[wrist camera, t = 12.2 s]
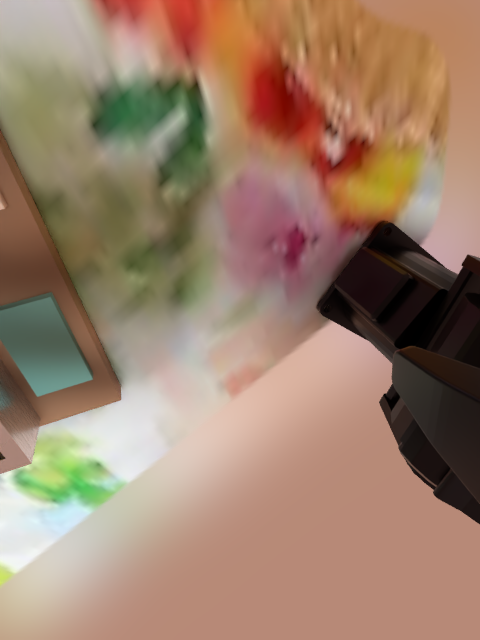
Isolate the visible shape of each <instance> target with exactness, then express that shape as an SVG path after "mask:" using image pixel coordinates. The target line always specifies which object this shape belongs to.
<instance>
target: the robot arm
mask: <svg viewBox="0 0 480 640" xmlns="http://www.w3.org/2000/svg"><path fill="white" fill-rule="evenodd" d="M386 228H387V231H386V232H385V233H384V230H385V229H386ZM462 266H463V268H462V269H461V271H460V273H459V274H456V273H454V272H452V271H450V270H449V269H447V268H445V267H444V266H443V265H442V264H441V263H440V262H438V261H437V260H436V259H435V258H434V257H432V256H431V255H430V254H429V253H428V252H426V251H425V250H424V249H423V248H422V247H420V246H419V245H418V244H417V243H416V242H414V241H413V240H412V239H411V238H410V237H408V236H407V235H406V234H405V233H404V232H402V231H401V230H400V229H399V228H398V227H396V226H395V225H394V224H392V223H390V222H388V221H383V222H381V223H380V224H379V225H378V226H377V227H376V229H375V230H374V231H373V233H372V234H371V235H370V237H369V238H368V239H367V241H366V242H365V243H364V244H363V246H362V247H361V248H360V250H359V251H358V252H357V254H356V255H355V256H354V258H353V259H352V260H351V261H350V263H349V264H348V265H347V267H346V268H345V269H344V271H343V272H342V273H341V275H340V276H339V277H338V279H337V280H336V281H335V282H334V284H333V285H332V286H331V288H330V289H329V290H328V292H327V293H326V294H325V296H324V297H323V298H322V299H321V301H320V302H319V304H318V306H317V309H318V311H319V312H320V313H321V314H322V315H323V316H325V317H326V318H328V319H330V320H332V321H334V322H335V323H337V324H339V325H341V326H343V327H345V328H346V329H348V330H350V331H352V332H353V333H355V334H357V335H359V336H361V337H363V338H364V339H366V340H368V341H370V342H371V343H372V344H373V345H374V346H375V347H376V348H377V349H378V350H379V351H380V352H381V353H382V354H383V355H384V356H385V357H386V358H387V359H388V360H389V361H390V362H391V363H392V364H393V366H392V383H393V384H392V385H391V387H390V389H389V390H388V392H387V393H386V394H384V395H383V397H382V398H381V400H380V402H379V403H380V406H381V408H382V410H383V412H384V414H385V417H386V419H387V421H388V423H389V425H390V428H391V430H392V432H393V434H394V437H395V439H396V441H397V443H398V445H399V450H400V452H401V454H402V456H403V457H404V459H405V460H406V462H407V464H408V465H409V466H410V468H411V469H412V471H413V473H414V474H415V475H417V476H418V477H419V478H420V479H421V480H422V481H423V482H425V483H426V484H427V485H428V486H430V487H431V488H432V489H433V490H434V492H433V493H434V495H435V496H436V497H437V498H438V499H440V500H442V501H443V502H445V503H447V504H449V505H451V506H452V507H455V508H456V509H458V510H460V511H462V512H463V513H464V514H466V515H467V516H469V517H470V518H471V519H473V520H475V521H476V522H477V523H479V524H480V258H478V257H475V256H471V255H467V257H466V258H465V260H464V262H463V263H462ZM327 305H328V307H327V308H326V309H324V308H325V307H326V306H327Z"/></svg>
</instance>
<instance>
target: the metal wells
mask: <svg viewBox="0 0 480 640" xmlns="http://www.w3.org/2000/svg"><path fill="white" fill-rule="evenodd" d="M40 420H41V418H40V417H39V415H38V414H37V412H36V411H35V409H34V408H33V406H32V405H31V403H30V402H29V400H28V399H27V397H26V396H25V394H24V393H23V391H22V390H21V388H20V387H19V385H18V384H17V382H16V381H15V379H14V378H13V376H12V375H11V373H10V372H9V370H8V369H7V367H6V366H5V364H4V363H3V361H2V360H1V358H0V474H2V473H4V472H7V471H10V470H13V469H16V468H19V467H22V466H25V465H28V464H31V463H32V459H33V454H34V450H35V445H36V440H37V435H38V430H39V425H40Z"/></svg>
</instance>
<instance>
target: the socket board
mask: <svg viewBox="0 0 480 640" xmlns="http://www.w3.org/2000/svg"><path fill="white" fill-rule="evenodd" d="M0 358H1V360H2V361H3V363H4V364H5V366H6V367H7V369H8V370H9V372H10V373H11V375H12V376H13V378H14V379H15V381H16V382H17V384H18V385H19V387H20V388H21V390H22V391H23V393H24V394H25V396H26V397H27V399H28V400H29V402H30V403H31V405H32V406H33V408H34V409H35V411H36V412H37V414H38V415H39V417H40V418H41V420H40V425H39V427H40V426H43V425H46V424H49V423H52V422H55V421H58V420H61V419H64V418H67V417H70V416H73V415H76V414H79V413H83V412H86V411H89V410H92V409H95V408H98V407H101V406H104V405H107V404H110V403H113V402H116V401H119V400H121V386H120V384H119V382H118V380H117V377H116V375H115V373H114V371H113V369H112V367H111V365H110V362H109V360H108V358H107V356H106V354H105V352H104V350H103V348H102V345H101V343H100V341H99V339H98V337H97V335H96V333H95V330H94V328H93V326H92V324H91V322H90V320H89V318H88V316H87V313H86V311H85V309H84V307H83V305H82V303H81V301H80V298H79V296H78V294H77V292H76V290H75V288H74V286H73V284H72V281H71V279H70V277H69V275H68V273H67V271H66V269H65V266H64V264H63V262H62V260H61V258H60V256H59V254H58V252H57V249H56V247H55V245H54V243H53V241H52V239H51V237H50V234H49V232H48V230H47V228H46V226H45V224H44V222H43V220H42V217H41V215H40V213H39V211H38V209H37V207H36V205H35V202H34V200H33V198H32V196H31V194H30V192H29V190H28V188H27V185H26V183H25V181H24V179H23V177H22V175H21V173H20V170H19V168H18V166H17V164H16V162H15V160H14V158H13V156H12V153H11V151H10V149H9V147H8V145H7V143H6V141H5V138H4V136H3V134H2V132H1V130H0Z"/></svg>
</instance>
